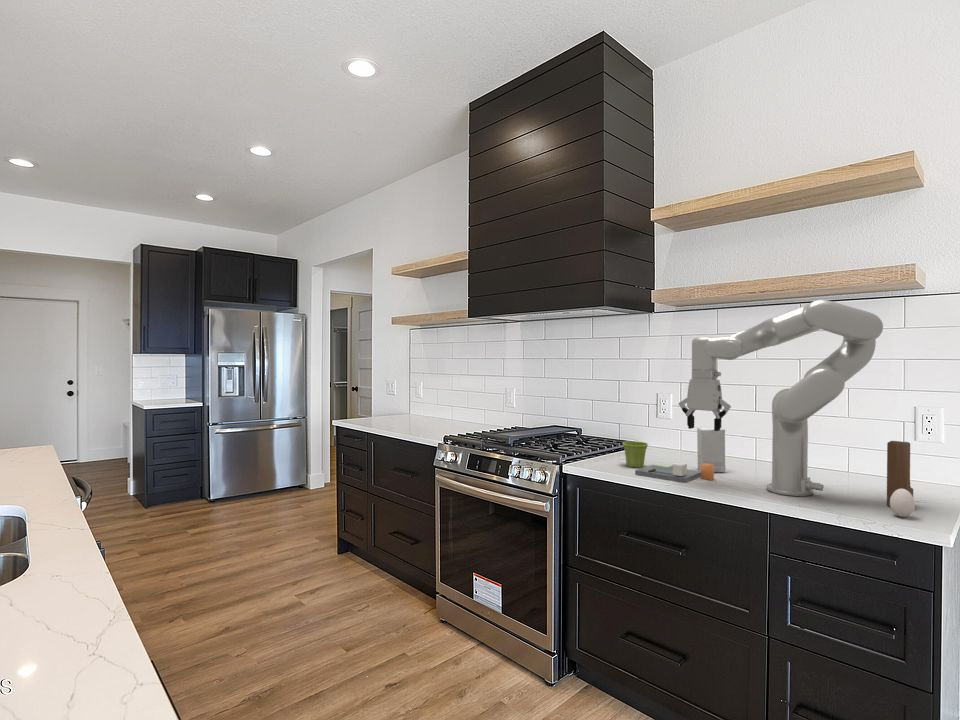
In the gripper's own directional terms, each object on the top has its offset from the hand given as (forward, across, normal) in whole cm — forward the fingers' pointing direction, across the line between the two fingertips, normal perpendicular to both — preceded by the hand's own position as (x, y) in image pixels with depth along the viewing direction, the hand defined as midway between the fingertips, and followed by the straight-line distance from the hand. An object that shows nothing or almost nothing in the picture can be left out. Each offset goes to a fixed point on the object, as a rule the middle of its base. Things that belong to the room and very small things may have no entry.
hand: (704, 429), depth 183 cm
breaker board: (+18, +14, -4) cm, 23 cm away
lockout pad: (+16, +18, -9) cm, 26 cm away
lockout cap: (+18, +2, -8) cm, 20 cm away
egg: (+18, -52, 0) cm, 55 cm away
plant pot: (+18, +30, -10) cm, 37 cm away
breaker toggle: (+16, +8, 0) cm, 18 cm away
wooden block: (+18, -50, -12) cm, 55 cm away
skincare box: (+18, +6, -21) cm, 29 cm away
